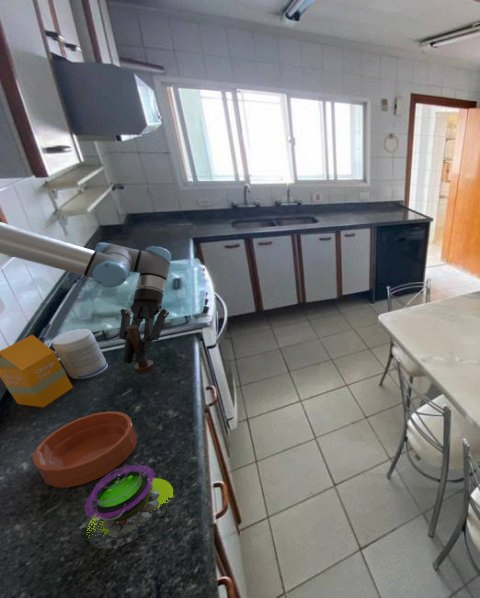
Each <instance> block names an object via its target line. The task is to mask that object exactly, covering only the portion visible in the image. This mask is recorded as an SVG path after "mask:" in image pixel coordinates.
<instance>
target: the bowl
mask: <svg viewBox="0 0 480 598" xmlns="http://www.w3.org/2000/svg"><path fill="white" fill-rule="evenodd" d="M137 445H138V434H137V432H136V428H135V426H134V424H133V420H132V418H131V417H130V416H129V415H128V414H127V413H124V412H121V411H109V410H108V411H101V412H95V413H91V414H89V415H85V416H81V417H78V418H77V419H75V420H72V421H70V422H68V423H66V424H64V425H62V426H61V427H59V428H58V429H56V430H54V431H53V432H51V433H50V434H49V435H48V436H46V438H44V439H43V440H41V442H40V444H39V445H38V446H37V448H36V449H35V450H34V452H33V457H32V462H33V463H34V465H35V467H36V469H37V471H38V472H39V474H40V476H41V478H42V480H43V481H44V483H45V484H46V485H48V486H51V487H54V488H64V489H66V488H67V489H68V488H73V487H77V486H82V485H85V484H87V483H90V482H92V481H95V480H97V479H100V478H102V477H105V476H106V475H107V474H110V473H111V472H112V471H114V470H116V469H117V468H118V467H119V466H121V465H122V464H123V463H124V462H126V460H127V459H128V458H129V457H130V456H131V454H132V453H133V452H134V451H135V449H136V447H137Z"/></svg>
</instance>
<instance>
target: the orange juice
mask: <svg viewBox="0 0 480 598" xmlns="http://www.w3.org/2000/svg"><path fill="white" fill-rule="evenodd" d="M56 354H57V353H56V352H55V350H53V349H52V348H50V347H49V346H47V344H45V343H44V342H43V341H41V340H40V339H39V338H38V337H36V336H35V335H34V334H31V335H29V336H27V337H25V338H22V339H21V340H19V341H17V342H15V343H13V344H10V345H9V346H6V347H5V348H2V349H1V350H0V379H1V381H2V382H3V384H4V385H5V387H6V388H7V391H8V392H9V394H11V396H12V398H13V400H14V401H15V402H16V404H17V405H22V406H23V405H24V406H30V407H38V408H45V407H46V406H47V405H50V403H52V402H54V401H55V400H57V399H58V398H60V397H62V395H64V394H66V393H68V391H70V390H71V389H73V388H74V386H73V384H72V382H71V381H70V379H69V377H68V376H67V375H68V374H67V372H66V370H65V368H64V367H63V366H62V363H61V361H60V359H59V357H58V355H56Z"/></svg>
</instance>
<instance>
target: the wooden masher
mask: <svg viewBox="0 0 480 598" xmlns="http://www.w3.org/2000/svg"><path fill="white" fill-rule="evenodd" d="M127 330H128V333H129V336H130V340H131V343H132V346H133V349H134V356H135V359H136V358H137V353H138V349H139V345H140V341H143V339H142V335H141V333H140V328H139V329H138V326H137V325H131V324H130V326H128V327H127ZM133 369H134V372H135V374H137V375H145V374H148V373H150V372H152V371H154V369H155V363H154V361H153V360H152V359H148V357H147V352H146V353H145V358H144V362H143V363H139V362H135V364H134V365H133Z"/></svg>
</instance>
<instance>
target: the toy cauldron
mask: <svg viewBox="0 0 480 598" xmlns="http://www.w3.org/2000/svg"><path fill="white" fill-rule="evenodd" d="M138 471H139V472H138ZM114 472H115V473H114ZM142 472H143V473H145V474H146V476H147V477H146V476H145V475H143V474H142ZM112 473H113V474H112ZM111 474H112V475H111ZM154 476H156V474H155V471H154V470H153V469H152V468H151V467H149V466H147V465H126V466H122V467H119V468H115V469H114V470H112V471H111V472H109V473H107V474H105V475H104V476H103V478H102V479H100V480H99V482H97V483H96V485H95V487H94V488H93V490H92V491H91V492H90V494H89V496H88V498H86V502H85V504H84V506H85V507H84V508H85V509H84V511H85V514H86V515H87V516H88V517H89V518H90V521H89V523H88V526H87V529H86V536H87V535H88V534H87V533H90V532H87V531H88V530H89V529H90V528H91V527H90V526H89V525H90V523H93V524H94V526H93V527H94V528H95V525H97V523H98V522H97V523H94V521H95V520H96V519H98V520H99V518H101V519H103V520H104V521H100V522H102V524H101V523H99V524H100V525H102V526H103V529H99V530H102V532H103V531H105V532H104V534H108V533H109V534H108V535H109V536H112V537H116V536H118V535H119V533H120V531H121V529H122V533H128V532H131V531H132V530H134V529H136V524H135V523H134V522H132V521H131V522H128V523H126V522H127V519H128V518H130V517H132V516H134V515H135V514H137V513H138V512H140V514H139V515H138V516H137V517H136V518H135V520H136V521H138V522H139V523H142V522H145V521H147V520H149V518H150V514H149V511H150V512H152V510H156V509H155V508H156V507H157V506H158V507H157V508H159V507H160V505H161V504H163V503H168V502H166V500H167V501H170V500H168V497H169V498H172V497H173V498H174V494H173V492H174V488H173V485H171V483H170V482H169V481H168V480H165V479H163V478H159V477H154ZM94 501H95V502H96V510H95V509H94ZM161 506H162V505H161ZM91 519H92V520H94V521H93V522H92V520H91ZM117 521H118V522H119V524H117V523H116V522H117ZM95 522H96V521H95ZM93 524H91V526H92V525H93ZM102 526H101V528H102ZM88 527H89V528H88ZM98 527H99V526H98ZM94 528H91V529H93V530H95V531H96V529H94ZM97 529H98V528H97ZM89 531H92V530H89ZM95 531H94V532H95ZM98 532H99V531H98ZM102 532H101V533H102ZM106 532H108V533H106ZM92 535H93V534H92ZM100 535H101V534H100ZM89 536H90V535H89ZM95 536H96V535H95ZM103 536H104V535H103ZM88 538H89V537H88Z"/></svg>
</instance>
